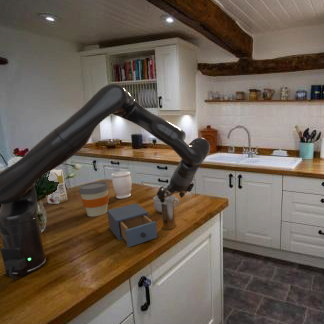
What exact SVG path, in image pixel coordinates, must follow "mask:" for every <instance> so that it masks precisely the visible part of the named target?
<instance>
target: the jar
mask: <svg viewBox="0 0 324 324" xmlns="http://www.w3.org/2000/svg"><path fill="white" fill-rule="evenodd" d="M111 177H112V181H111V182H112V188H113V190H114V191H113V192H114V193H115V194H116V195H115V197H116V199H119V200H120V199H121V200H122V199H127V198H129V197H132V193H131V192H132V183H133V182H132V177H131V171H128V170H122V171H116V172H112V173H111Z"/></svg>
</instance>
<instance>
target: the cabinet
mask: <svg viewBox="0 0 324 324" xmlns="http://www.w3.org/2000/svg"><path fill="white" fill-rule="evenodd" d="M142 215H145V216H147V217H148V218H149V219H150V217H149V212H148V211H147V210H146V209H145V208H143V207H142V205H139V204H138V203H137V202H136V203H131V204H127V205H123V206H120V207H115V208H111V209H107V221H108V228H109V229H110V231H111V232H112V233H113V235H114V237H116V238H117V239H118V241H121V240H124V238H123V237H122V236H121V235H120V228H119V222H120V221H124V220H127V219H131V218H135V217H138V216H142Z"/></svg>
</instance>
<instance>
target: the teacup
mask: <svg viewBox="0 0 324 324" xmlns="http://www.w3.org/2000/svg"><path fill="white" fill-rule="evenodd" d="M165 195H166V193H165ZM152 199H153V207H154V210H155V211H157V212H158V213H161V214H162V207H161V201H160V199H159V198H158V196H157V195H155V196H153V198H152ZM165 200H173V202H174V209H176V208H177V207H178V206H179V205H180V199H179V198H177V197H176V194H173V195H171V196H170V197H167V198H166V199H165Z"/></svg>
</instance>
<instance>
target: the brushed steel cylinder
mask: <svg viewBox="0 0 324 324" xmlns="http://www.w3.org/2000/svg"><path fill="white" fill-rule="evenodd" d="M161 207H162V213H161V217H162V229H164V230H173V229H175V227H176V217H175V215H176V214H175V208H174V202H173V200H165V201H164V202H163V203H162V202H161Z"/></svg>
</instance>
